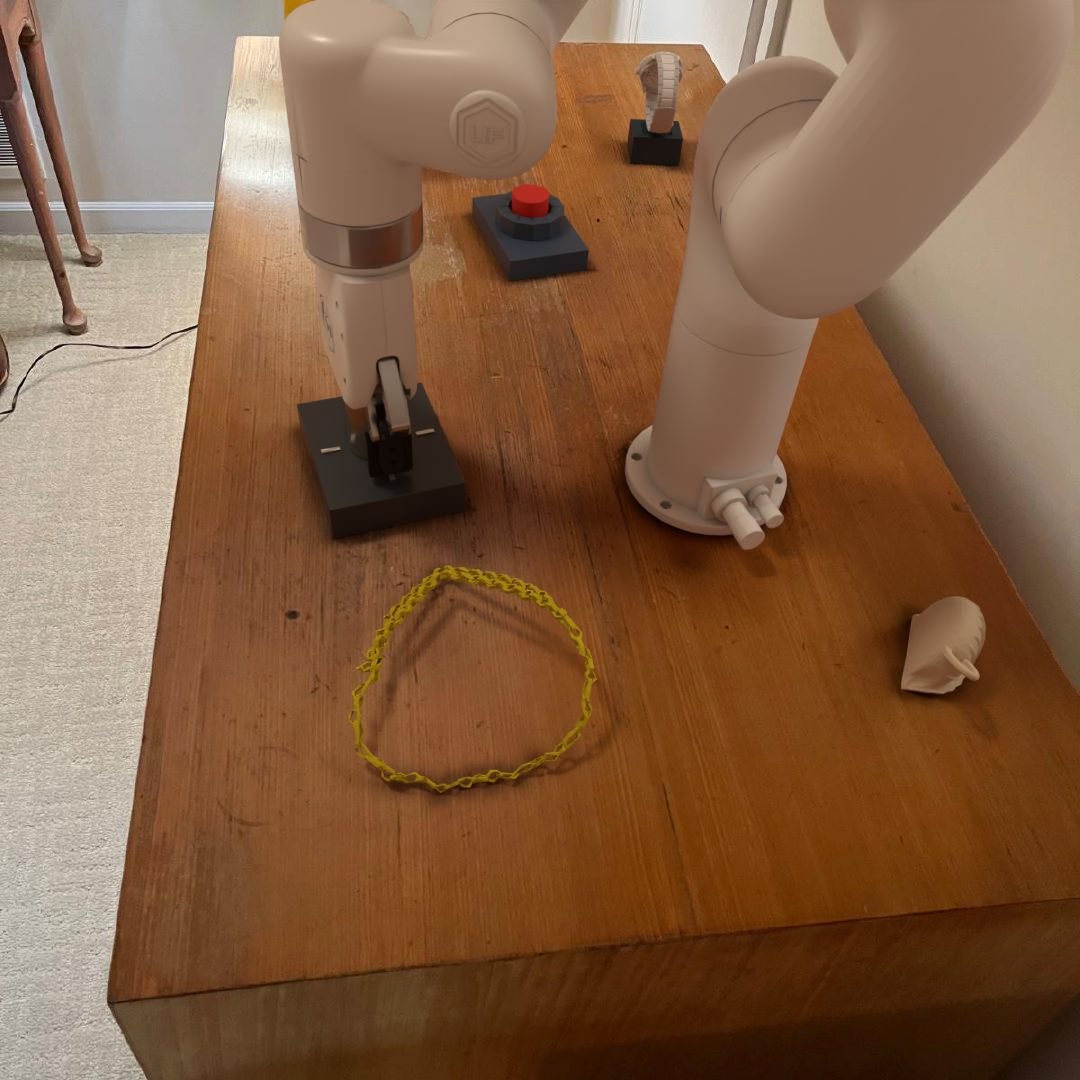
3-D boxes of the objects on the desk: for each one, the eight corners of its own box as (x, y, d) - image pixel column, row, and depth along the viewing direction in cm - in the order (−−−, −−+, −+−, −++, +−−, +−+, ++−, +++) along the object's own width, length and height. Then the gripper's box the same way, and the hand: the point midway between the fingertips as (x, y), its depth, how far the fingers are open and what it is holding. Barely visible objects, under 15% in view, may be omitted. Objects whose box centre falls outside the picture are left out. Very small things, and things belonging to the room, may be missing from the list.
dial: (355, 466, 75) (349, 405, 70) (343, 427, 77) (337, 366, 73) (414, 455, 76) (411, 394, 71) (400, 418, 78) (397, 357, 74)
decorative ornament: (971, 634, 71) (1001, 584, 67) (957, 727, 66) (989, 679, 62) (913, 614, 72) (939, 565, 68) (894, 705, 67) (922, 656, 63)
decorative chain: (438, 570, 72) (429, 527, 69) (635, 636, 68) (636, 593, 64) (313, 760, 63) (295, 721, 60) (531, 851, 58) (526, 815, 55)
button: (553, 216, 99) (554, 200, 98) (518, 221, 98) (519, 205, 97) (540, 198, 101) (542, 182, 100) (506, 202, 100) (507, 186, 99)
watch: (672, 139, 119) (688, 42, 111) (680, 173, 114) (697, 73, 106) (624, 137, 119) (637, 39, 111) (630, 171, 113) (644, 71, 105)
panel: (465, 511, 76) (465, 480, 74) (333, 539, 74) (329, 509, 71) (422, 410, 84) (421, 380, 82) (300, 432, 81) (296, 402, 79)
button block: (586, 269, 99) (590, 232, 97) (509, 281, 97) (511, 244, 94) (544, 207, 107) (547, 171, 104) (471, 217, 105) (472, 180, 102)
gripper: (275, 162, 67) (304, 375, 81) (332, 311, 57) (354, 529, 70) (386, 150, 70) (397, 359, 83) (461, 291, 59) (459, 507, 72)
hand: (377, 435), depth 76 cm, fingers open, 7 cm apart
